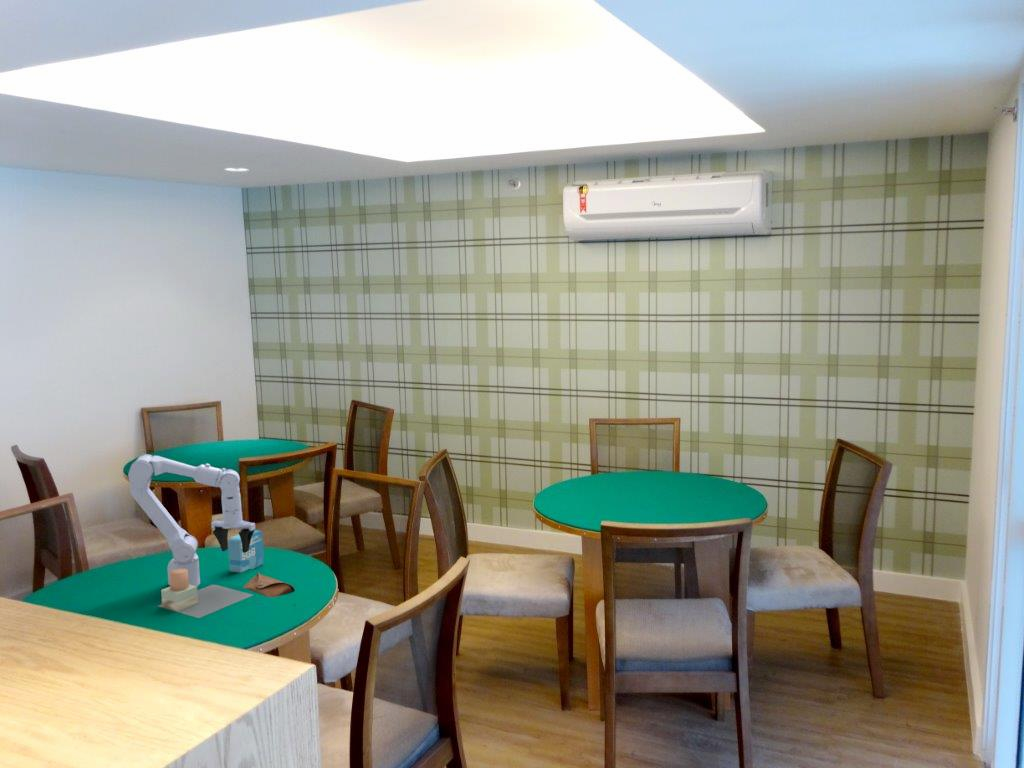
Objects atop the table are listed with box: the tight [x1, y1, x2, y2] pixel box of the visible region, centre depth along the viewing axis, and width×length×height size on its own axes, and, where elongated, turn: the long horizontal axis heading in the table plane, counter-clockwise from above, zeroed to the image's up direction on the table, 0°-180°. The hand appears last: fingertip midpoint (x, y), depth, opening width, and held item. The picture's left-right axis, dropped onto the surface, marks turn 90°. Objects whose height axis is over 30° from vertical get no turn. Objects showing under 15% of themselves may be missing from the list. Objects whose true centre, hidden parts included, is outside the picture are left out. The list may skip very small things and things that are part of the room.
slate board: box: [158, 584, 254, 619], centre depth 252 cm, size 18×20×1 cm
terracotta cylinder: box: [169, 569, 189, 591], centre depth 248 cm, size 5×5×5 cm
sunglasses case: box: [243, 572, 296, 598], centre depth 261 cm, size 18×7×7 cm, turn 53°
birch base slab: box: [161, 595, 198, 612], centre depth 248 cm, size 7×7×2 cm
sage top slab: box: [160, 584, 198, 603], centre depth 248 cm, size 7×7×2 cm
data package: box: [228, 529, 265, 573], centre depth 280 cm, size 12×4×12 cm, turn 159°
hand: (235, 551), depth 267 cm, fingers open, 7 cm apart
